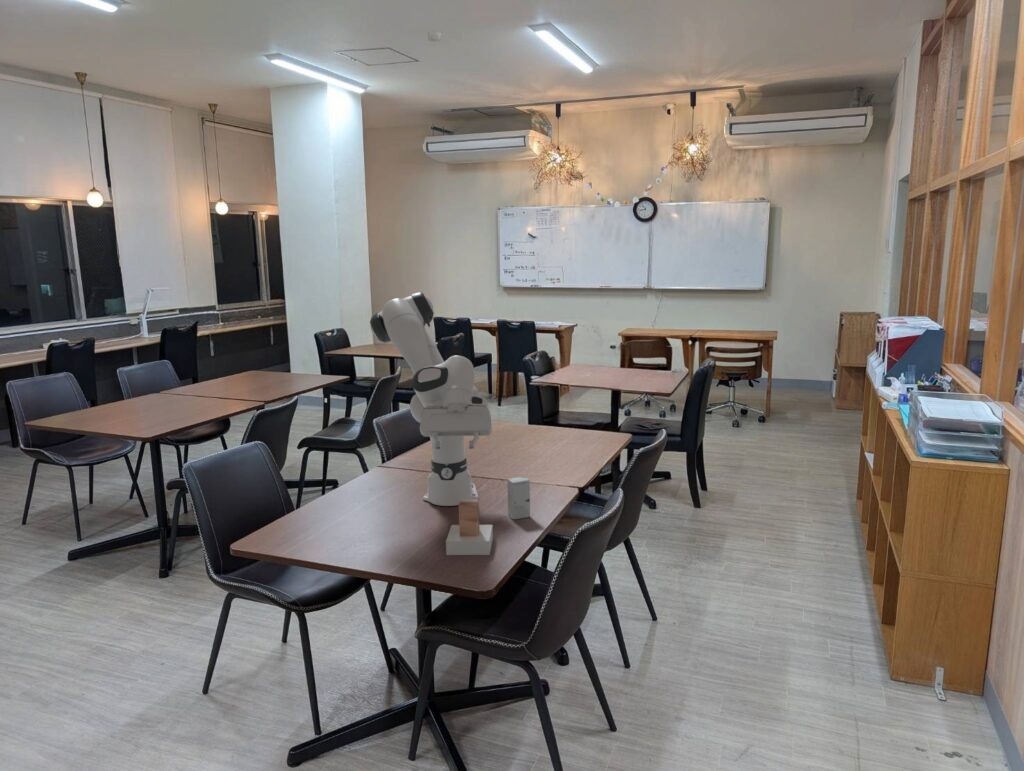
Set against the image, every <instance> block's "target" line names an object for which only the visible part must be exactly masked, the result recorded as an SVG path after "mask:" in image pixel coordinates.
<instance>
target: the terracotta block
mask: <svg viewBox="0 0 1024 771" xmlns="http://www.w3.org/2000/svg"><path fill="white" fill-rule="evenodd" d="M479 510H480V509H479V499H477V500H460V503H459V505H458V523H459V524H458V525H459V527H460V536H478V533H479V525H480V515H479V514H480V513H479V512H480V511H479Z"/></svg>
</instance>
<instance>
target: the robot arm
mask: <svg viewBox="0 0 1024 771" xmlns="http://www.w3.org/2000/svg"><path fill="white" fill-rule="evenodd" d="M434 314H435V312H434V305H433V303H432V300H431V299H430V298H429V297H428V296H427V295H426V294H425V293H423V292H422V291H421V292H419V291H418V292H414V293H412V294H411V295H408V296H406V297H403V298H393V299H390V300H388V301H387V302H386V303H385V304H384V305H383V307H382V310H381V311H379V312H376V313H374V315H372V316H371V317H370V320H369V323H370V331H371V333H372V334H373V337H375V338H376V339H377V340H379V341H380V342H381V343H389V342H391V343H392V345H393V347H395V349H396V350H397V352H399V354H400V355H401V357H402V358H403V359H404V360H405V361H406V363H407V364H408V365H409V367H410V370H411V372H412V374H413V377H412V378H411V385H412V386H411V387H412V388H413V390H414V392H415V394H414V395H413V396H412V398H411V400H410V403H409V409H410V413H411V415H412V417H413V419H415V421H416V422H417V423H419V432H420V434H421V435H422V436H423V437H426V438H427V437H429V439H430V445H431V447H430V448H431V457H432V458H431V460H430V462H431V463H430V466H431V473H429V475H428V476H427V493H426V494H424V495H423V497H422V500H423V501H426V502H429V503H431V504H433V505H434V506H435V505H437V506H442V507H448V506H449V507H451V506H452V507H453V506H459V503H460V500H479V494H478V491H477V489H476V488H477V487H476V484H475V483H473V482H472V475H471V474H470V472H469V470H468V461H467V458H466V450H465V449H466V448H465V447H466V446H465V437H473V438H472V440H469V442H468V448H469V449H471V450H473V449H474V450H475V448H476V443H477V442H478V441H479V440H480V437H481V436H483V437H484V436H487V437H488V436H491V435H492V433H493V423H492V417H491V412H490V409H489V402H488V401H487V399H486V398H484V397H481V393H480V392H479V390H478V388H477V387H476V386H475V368H474V364H473V363H472V361H471V360H470V359H468V358H467V357H465V356H463V355H451V356H450V357H448V358H447V359H446V360H444V359H443V356H442V355H441V353H440V351H439V349H438V347H437V346H436V344H435V342H434V341H433V338H432V337H431V336H430V334H429V333H428V331H427V330H426V328H425V326H426V324H427V326H428V328H430V327H431V324H430V323H431V322H432V320H433V318H434Z"/></svg>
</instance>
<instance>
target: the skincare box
mask: <svg viewBox="0 0 1024 771" xmlns="http://www.w3.org/2000/svg"><path fill="white" fill-rule="evenodd" d="M506 480H507V509H508V510H507V516H508V517H509V518H511V519H512V520H518V519H525V518H529V517H530V516H531V498H530V495H531V494H530V490H531V489H530V486H531V485H530V484H531V483H530V479H529V478H527V477H525V476H520V477H513V478H507V479H506Z"/></svg>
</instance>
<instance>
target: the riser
mask: <svg viewBox="0 0 1024 771" xmlns="http://www.w3.org/2000/svg"><path fill="white" fill-rule="evenodd" d="M493 527H494V525H493V524H479V533H478V536H460V527H459V524H451V526H450V528H449V531H448V534H447V537H446V539H445V553H446V556H490V555H491V550H492V545H493V539H494V528H493Z"/></svg>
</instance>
